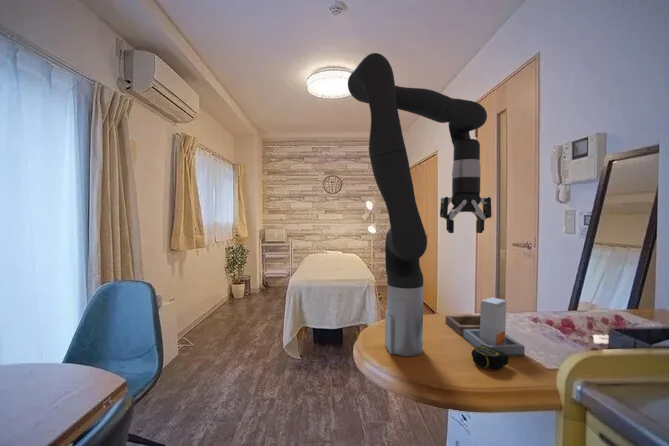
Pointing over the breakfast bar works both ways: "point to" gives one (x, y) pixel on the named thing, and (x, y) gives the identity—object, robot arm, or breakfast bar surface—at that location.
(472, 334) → the tray
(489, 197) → the robot arm
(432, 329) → the breakfast bar surface
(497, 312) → the skincare box
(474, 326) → the brown rectangular frame
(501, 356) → the tape measure
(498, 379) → the breakfast bar surface
